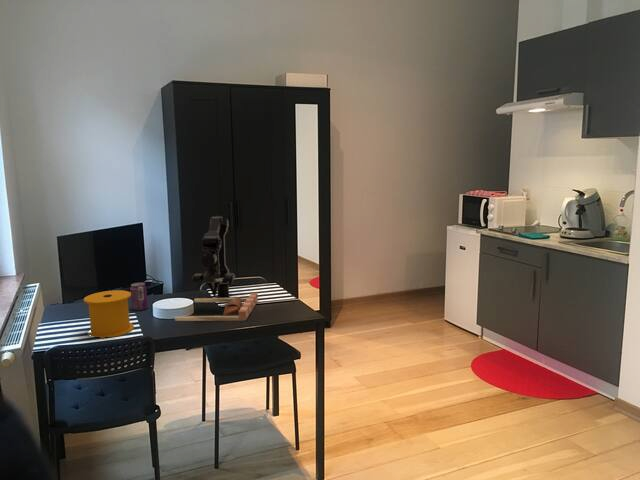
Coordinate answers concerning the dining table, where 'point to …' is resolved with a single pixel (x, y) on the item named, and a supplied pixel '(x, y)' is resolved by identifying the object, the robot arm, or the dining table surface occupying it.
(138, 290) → the beverage can
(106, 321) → the spool
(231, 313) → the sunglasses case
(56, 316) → the dining table surface
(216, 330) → the dining table surface
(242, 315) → the guide channel
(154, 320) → the dining table surface
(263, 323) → the dining table surface
